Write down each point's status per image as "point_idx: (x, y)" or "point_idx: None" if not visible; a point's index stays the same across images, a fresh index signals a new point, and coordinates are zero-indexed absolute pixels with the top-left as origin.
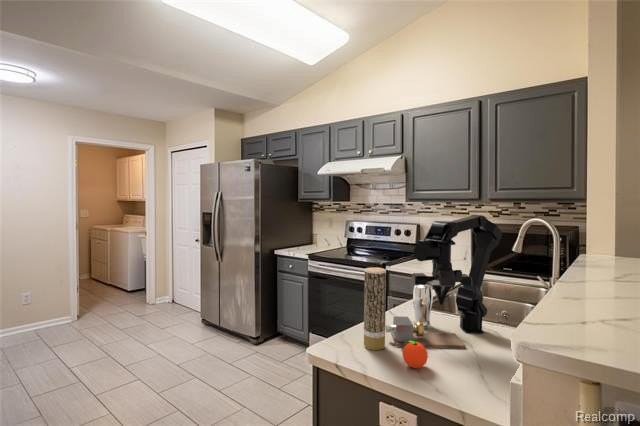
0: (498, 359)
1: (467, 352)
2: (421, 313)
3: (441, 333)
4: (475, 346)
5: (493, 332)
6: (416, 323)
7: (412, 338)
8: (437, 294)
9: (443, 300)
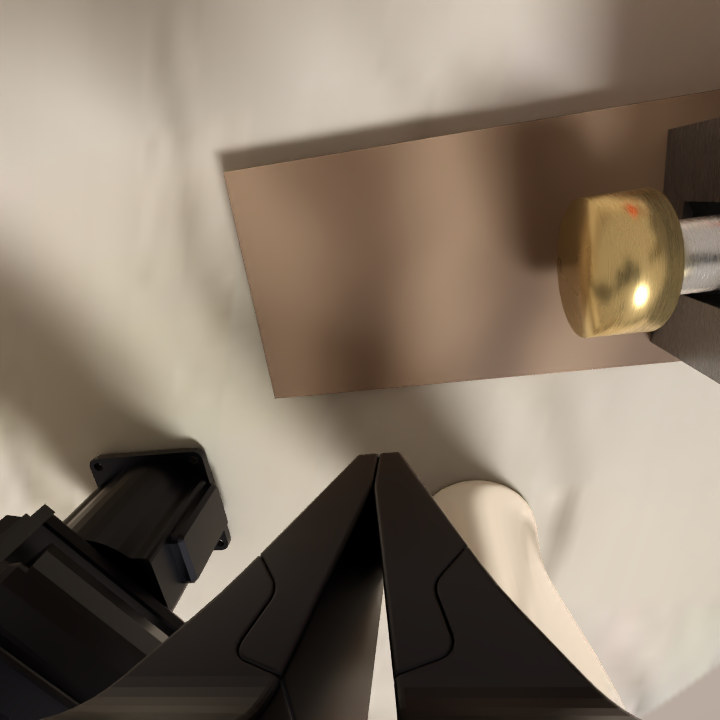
0: (17, 11)
1: (226, 99)
2: (519, 571)
3: (373, 377)
4: (161, 232)
5: (43, 478)
6: (680, 262)
7: (696, 124)
8: (487, 575)
9: (334, 491)
